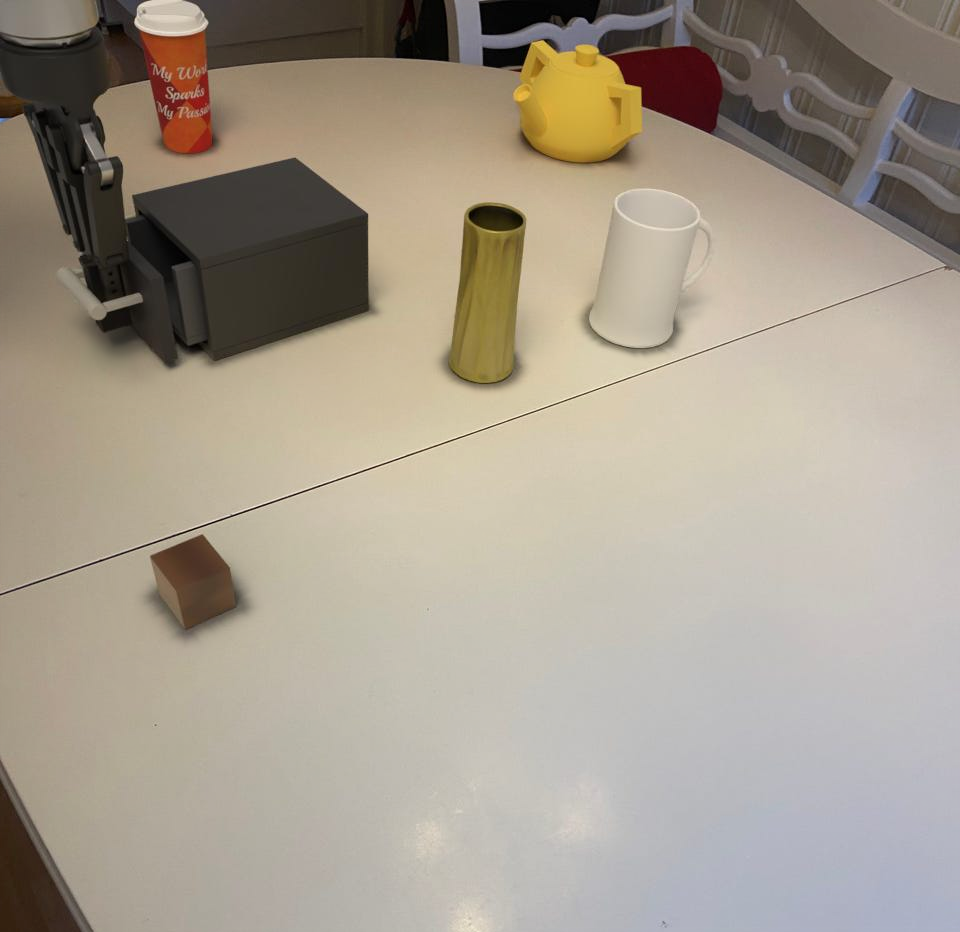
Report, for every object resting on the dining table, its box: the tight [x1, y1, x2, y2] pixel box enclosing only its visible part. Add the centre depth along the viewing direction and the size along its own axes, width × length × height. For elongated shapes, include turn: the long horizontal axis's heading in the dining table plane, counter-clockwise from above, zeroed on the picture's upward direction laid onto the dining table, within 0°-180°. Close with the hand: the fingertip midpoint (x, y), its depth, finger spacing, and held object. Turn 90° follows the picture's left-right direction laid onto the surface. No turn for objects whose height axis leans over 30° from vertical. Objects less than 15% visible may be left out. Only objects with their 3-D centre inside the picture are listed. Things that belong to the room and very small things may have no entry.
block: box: [149, 533, 237, 630], centre depth 67 cm, size 4×4×4 cm
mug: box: [588, 187, 716, 349], centre depth 93 cm, size 12×8×12 cm
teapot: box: [513, 39, 643, 164], centre depth 119 cm, size 20×18×11 cm
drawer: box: [56, 215, 207, 363], centre depth 87 cm, size 20×12×8 cm, turn 128°
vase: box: [448, 201, 527, 384], centre depth 85 cm, size 6×6×14 cm
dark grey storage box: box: [131, 157, 370, 362], centre depth 90 cm, size 17×13×10 cm
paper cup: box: [134, 0, 213, 154], centre depth 109 cm, size 8×8×14 cm
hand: (114, 324), depth 86 cm, fingers closed
